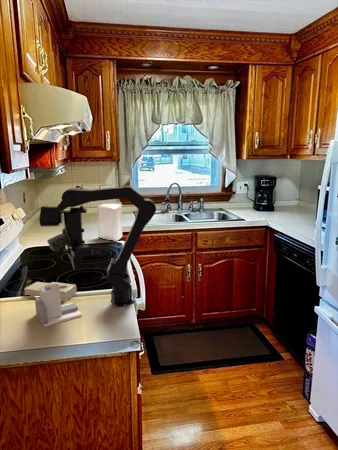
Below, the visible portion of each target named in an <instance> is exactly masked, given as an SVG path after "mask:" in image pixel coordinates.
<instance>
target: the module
mask: <svg viewBox="0 0 338 450" xmlns="http://www.w3.org/2000/svg"><path fill="white" fill-rule="evenodd" d="M39 288H40V299H41V301H42V302H43V304H44V305H45V306H46V308H47V317H48V319H51V318H54V317H58V316H62V309H61V306H62V301H61V296H60V289H59V288H58V287H57V286H56V285H55V284H52V285H45V286H43V287H39Z"/></svg>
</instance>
